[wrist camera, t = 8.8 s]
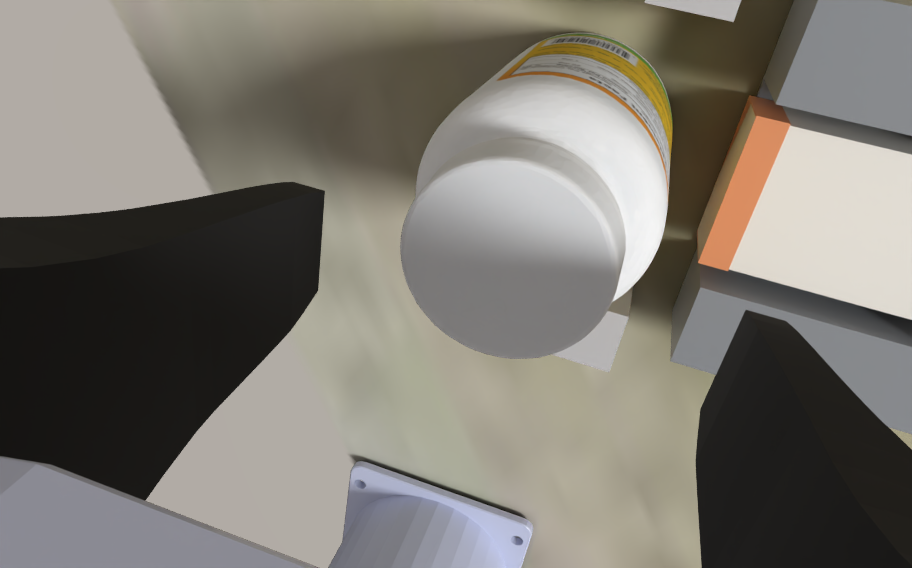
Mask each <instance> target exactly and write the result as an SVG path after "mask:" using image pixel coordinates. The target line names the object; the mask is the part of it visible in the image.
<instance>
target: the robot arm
mask: <svg viewBox="0 0 912 568" xmlns="http://www.w3.org/2000/svg"><path fill="white" fill-rule="evenodd" d="M324 195H325V191H323V190H320V189H316V188H312V187H309V186H305V185H302V184H298V183H295V182H283V183H274V184H267V185H260V186H255V187H249V188H244V189H239V190H234V191H229V192H224V193H219V194H214V195H208V196H203V197H198V198H193V199H188V200H182V201H176V202H170V203H164V204H158V205H152V206H146V207H140V208H134V209H127V210H118V211H110V212H101V213H90V214H79V215H67V216H49V217H7V218H6V217H5V218H0V568H318V567H316V566H313V565H310V564H308V563H305V562H303V561H300V560H297V559H295V558H292V557H289V556H287V555H285V554H282V553H279V552H277V551H273V550H271V549H269V548H266V547H264V546H261V545H258V544H256V543H253V542H251V541H248V540H246V539H243V538H240V537H238V536H235V535H232V534H230V533H227V532H225V531H222V530H220V529H217V528H214V527H212V526H209V525H206V524H204V523H201V522H199V521H196V520H193V519H191V518H188V517H186V516H183V515H181V514H177V513H175V512H173V511H170V510H168V509H165V508H162V507H160V506H157V505H154V504H152V503H149V502H147V501H145V500H146V499H147V498H148V496H149V495H150V493H151V492H152V490H153V489H154V487H155V486H156V485H157V483H158V482H159V481H160V479H161V478H162V476H163V475H164V474H165V472H166V471H167V470H168V468H169V467H170V466H171V464H172V463H173V462H174V460H175V459H176V458H177V456H178V455H179V454H180V453H181V451H182V450H183V448H184V447H185V446H186V445H187V443H188V442H189V441H190V439H191V438H192V437H193V435H194V434H195V433H196V431H197V430H198V429H199V428H200V427H201V426H202V425H203V423H204V422H205V421H206V420H207V419H208V418H209V417H210V415H211V414H212V413H213V412H214V411H215V410H216V409H217V408H218V407H219V405H220V404H222V403H223V402H224V400H225V399H226V398H227V397H228V396H229V395H230V394H231V393H232V392H233V391H234V390H235V389H236V388H237V387H238V386H239V385H240V384H241V383H242V382H243V381H244V379H245V378H246V377H247V376H248V375H249V374H250V373H251V372H252V371H253V370H254V369H255V368H256V367H257V366H258V365H259V364H260V363H261V362H262V361H263V360H264V359H265V357H266V356H267V355H268V354H269V353H270V352H271V351H272V350H273V349H274V348H275V347H276V346H277V345H278V344H279V343H280V342H281V340H282V339H283V338H284V337H285V336H286V335H287V334H288V333H289V332H290V331H291V329H292V328H293V326H294V325H295V324H296V322H297V321H298V320H299V318H300V317H301V315H302V314H303V313H304V311H305V309H306V308H307V306H308V305H309V303H310V302H311V300H312V299H313V297H314V296H315V294H316V293H317V291H318V283H319V269H320V254H321V239H322V224H323V210H324ZM696 478H697V497H698V513H699V529H700V545H701V561H702V568H912V450H911V449H910V448H909V447H908V446H907V445H906V444H905V443H904V442H903V441H902V440H901V439H900V438H899V437H898V436H897V435H896V434H895V433H894V432H893V431H892V430H891V429H889V428H888V427H887V426H886V425H885V424H884V423H883V422H882V421H881V420H880V419H879V418H878V417H877V416H876V415H875V414H874V413H873V412H872V411H871V410H870V409H869V408H868V407H867V406H866V405H865V404H864V403H863V401H862V400H861V399H860V398H859V397H858V396H857V395H856V394H855V393H854V392H853V391H852V390H851V389H850V388H849V387H848V386H847V385H846V383H845V382H844V381H843V380H842V379H841V378H840V377H839V376H838V375H837V374H836V373H835V371H834V370H833V369H832V368H831V367H830V366H829V365H828V364H827V363H826V362H825V360H824V359H823V358H822V357H821V356H820V355H819V354H818V353H817V352H816V350H815V349H814V348H813V347H812V346H811V345H810V344H809V343H808V342H807V341H806V340H805V339H804V337H803V336H802V335H801V334H800V333H799V332H798V331H797V330H796V329H795V328H794V327H793V326H791V325H790V324H789V323H788V322H787V321H784V320H781V319H777V318H774V317H770V316H767V315H763V314H760V313H756V312H753V311H749V310H745V312H744V314H743V316H742V319H741V321H740V323H739V325H738V328H737V330H736V332H735V334H734V336H733V339H732V341H731V343H730V345H729V347H728V350H727V352H726V354H725V356H724V358H723V361H722V363H721V365H720V367H719V369H718V372H717V374H716V376H715V378H714V380H713V383H712V385H711V387H710V389H709V392H708V394H707V396H706V398H705V400H704V403H703V405H702V407H701V410H700V420H699V429H698V439H697V451H696ZM361 480H362V481H364V482H362V481H361ZM532 532H533V526H532V524H531V523H530V522H529V521H528V520H527V519H525V518H523V517H520V516H517V515H514V514H511V513H508V512H506V511H503V510H500V509H497V508H494V507H491V506H489V505H486V504H483V503H480V502H477V501H475V500H472V499H469V498H466V497H463V496H460V495H458V494H455V493H452V492H449V491H446V490H444V489H441V488H438V487H435V486H432V485H429V484H427V483H424V482H421V481H418V480H415V479H412V478H410V477H407V476H404V475H401V474H398V473H396V472H393V471H390V470H387V469H384V468H381V467H379V466H376V465H373V464H370V463H367V462H363V461H359V462H356V463H355V464H354V466H353V468H352V470H351V474H350V482H349V491H348V499H347V507H346V516H345V524H344V533H343V541H342V544H341V546H340V547H339V549H338V551H337V553H336V555H335V556H334V558H333V560H332V562H331V564H330V566H329V567H328V568H521V566H522V563H523V560H524V557H525V554H526V551H527V548H528V545H529V542H530V539H531V536H532ZM516 536H519V537H520V538H518V537H516Z"/></svg>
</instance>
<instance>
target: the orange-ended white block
mask: <svg viewBox="0 0 912 568" xmlns="http://www.w3.org/2000/svg"><path fill="white" fill-rule="evenodd" d="M697 248H698V263H700V264H704V265H707V266H711V267H714V268H718V269H722V270H725V271H728V270H733V271H736V272H740V273H744V274H747V275H751V276H755V277H758V278H762V279H765V280H769V281H773V282H776V283H780V284H783V285H787V286H791V287H794V288H798V289H802V290H805V291H809V292H812V293H816V294H820V295H823V296H827V297H831V298H834V299H838V300H841V301H845V302H849V303H852V304H856V305H859V306H863V307H867V308H870V309H874V310H878V311H881V312H885V313H888V314H892V315H896V316H899V317H903V318H907V319H910V320H912V136H910V135H906V134H901V133H897V132H893V131H888V130H884V129H880V128H876V127H871V126H867V125H863V124H858V123H854V122H850V121H846V120H841V119H837V118H833V117H828V116H824V115H820V114H816V113H811V112H807V111H803V110H798V109H794V108H790V107H786V106H781V105H777V104H775V102H774V101H773V100H768V99H764V98H760V97H755V96H751V95H749V98H748V100H747V103H746V105H745V108H744V111H743V113H742V116H741V118H740V121H739V123H738V126H737V129H736V131H735V134H734V136H733V139H732V142H731V144H730V147H729V149H728V152H727V154H726V157H725V160H724V162H723V165H722V167H721V170H720V173H719V175H718V178H717V180H716V183H715V186H714V188H713V191H712V193H711V196H710V198H709V201H708V204H707V206H706V209H705V211H704V214H703V217H702V219H701V222H700V224H699V227H698V229H697Z"/></svg>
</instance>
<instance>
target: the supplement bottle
mask: <svg viewBox="0 0 912 568" xmlns="http://www.w3.org/2000/svg"><path fill="white" fill-rule="evenodd" d="M672 131H673V125H672V113H671V107H670V102H669V99H668V95H667V92H666V90H665V87H664V85H663V83H662V81H661V79H660V77H659V75H658V74H657V72H656V71H655V69H654V68H653V67H652V66H651V64H650V63H649V62H648V61H647V60H646V59H645V58H644V57H642V56H641V55H640V54H639V53H638V52H637V51H635V50H634V49H632V48H631V47H629V46H628V45H626V44H624V43H622V42H620V41H618V40H616V39H614V38H611V37H608V36H604V35H600V34H595V33H567V34H561V35H557V36H553V37H550V38H547V39H545V40H542V41H540V42H538V43H536V44H534V45H532V46H531V47H529V48H528V49H526V50H525V51H523V52H522V53H521V54H519V55H518V56H517V57H516V58H514V59H513V60H512V61H511V62H509V63H508V64H507V65H506V66H505V67H503V68H502V69H501V70H500V71H499V72H498V73H496V74H495V75H494V76H493V77H492V78H491V79H489V80H488V81H487V82H486V83H485V84H483V85H482V86H481V87H480V88H478V89H477V90H476V91H475V92H474V93H472V94H471V95H470V96H469V97H467V98H466V99H465V100H464V101H462V102H461V103H460V104H459V105H458V106H457V107H456V108H455V109H454V110H453V111H452V112H451V113H450V114H449V115H448V116H447V117H446V119H445V120H444V121H443V122H442V123H441V124H440V126H439V127H438V128H437V130H436V131H435V133H434V134H433V136H432V138H431V139H430V141H429V143H428V145H427V147H426V150H425V152H424V154H423V157H422V160H421V163H420V166H419V170H418V175H417V182H416V198H415V200H414V201H413V203H412V204H411V206H410V209H409V211H408V213H407V216H406V218H405V221H404V224H403V229H402V234H401V245H400V249H401V261H402V267H403V272H404V275H405V279H406V281H407V284H408V286H409V289H410V291H411V293H412V295H413V297H414V299H415V301H416V302H417V304H418V305H419V307H420V308H421V310H422V311H423V312H424V313H425V314H426V316H427V317H428V318H429V319H430V320H431V321H432V322H433V323H434V324H435V325H436V326H437V327H438V328H439V329H440V330H442V331H443V332H444V333H445V334H447V335H448V336H449V337H451V338H453V339H454V340H456V341H458V342H459V343H461V344H463V345H465V346H467V347H469V348H471V349H473V350H476V351H479V352H482V353H485V354H488V355H493V356H497V357H502V358H510V359H527V358H538V357H543V356H547V355H551V354H555V353H557V352H560V351H562V350H565V349H567V348H569V347H570V346H572V345H574V344H576V343H577V342H579V341H581V340H582V339H583V338H585V337H586V336H587V335H588V334H589V333H590V332H591V331H592V330H593V329H594V328H595V327H596V326H597V325H598V324H599V323H600V321H601V320H602V319H603V317H604V316H605V315H606V313H607V311H608V309H609V307H610V305H611V303H612V302H613V301H615V300H616V299H618V298H619V297H621V296H622V295H623V294H625V293H626V292H627V291H628V290H629V289H630V288H631V287H632V286H633V285H634V284H635V283H636V282H637V281H638V280H639V279H640V278H641V276H642V275H643V274H644V273H645V271H646V270H647V268H648V267H649V265H650V263H651V262H652V260H653V258H654V256H655V254H656V252H657V250H658V248H659V245H660V242H661V239H662V236H663V232H664V228H665V222H666V216H667V208H668V195H669V174H670V159H671V146H672Z"/></svg>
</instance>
